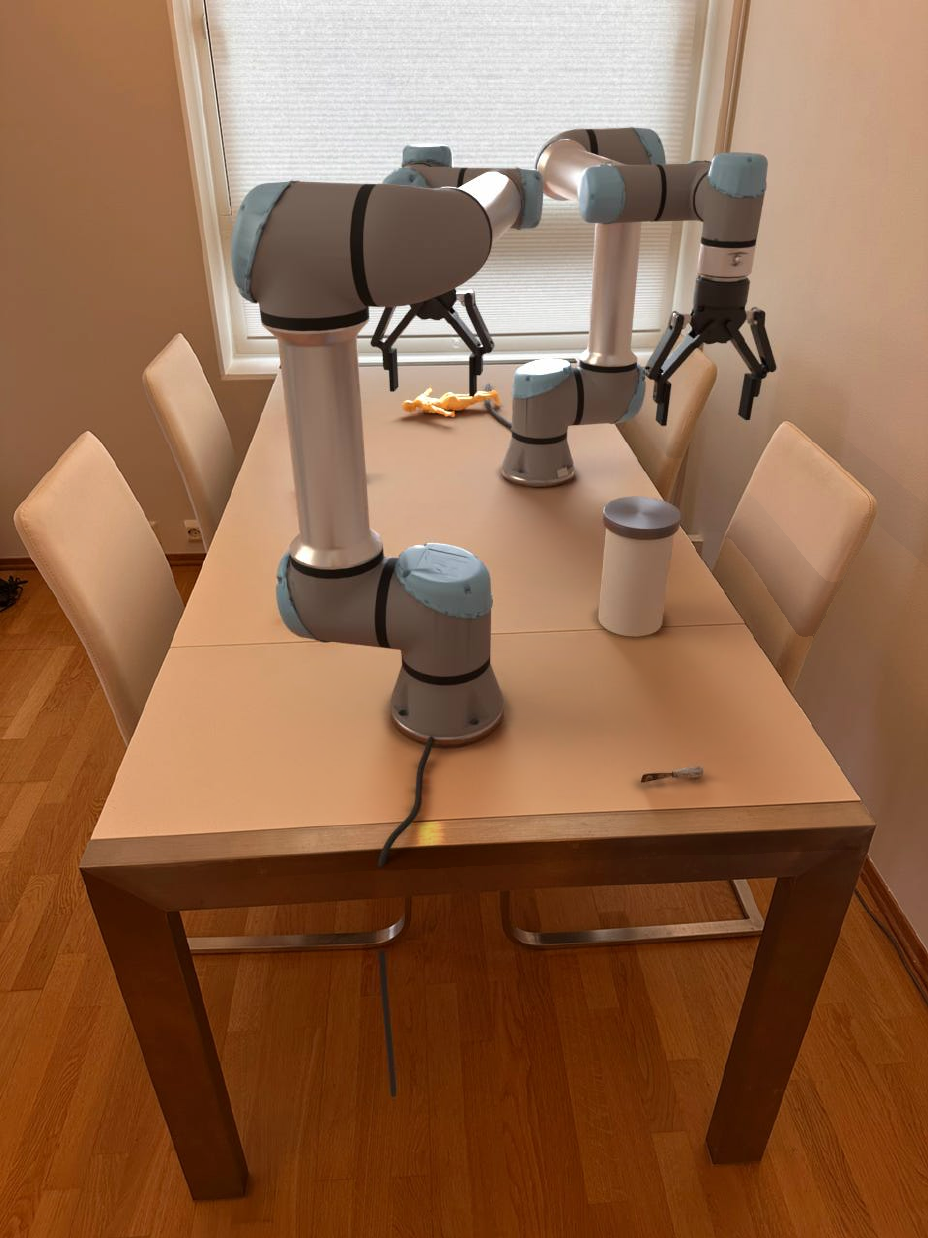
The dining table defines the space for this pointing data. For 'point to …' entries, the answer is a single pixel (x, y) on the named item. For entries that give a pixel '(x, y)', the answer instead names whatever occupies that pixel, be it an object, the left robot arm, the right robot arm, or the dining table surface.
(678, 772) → the putty knife
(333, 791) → the dining table surface
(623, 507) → the lid
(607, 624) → the jar
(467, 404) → the human figure
